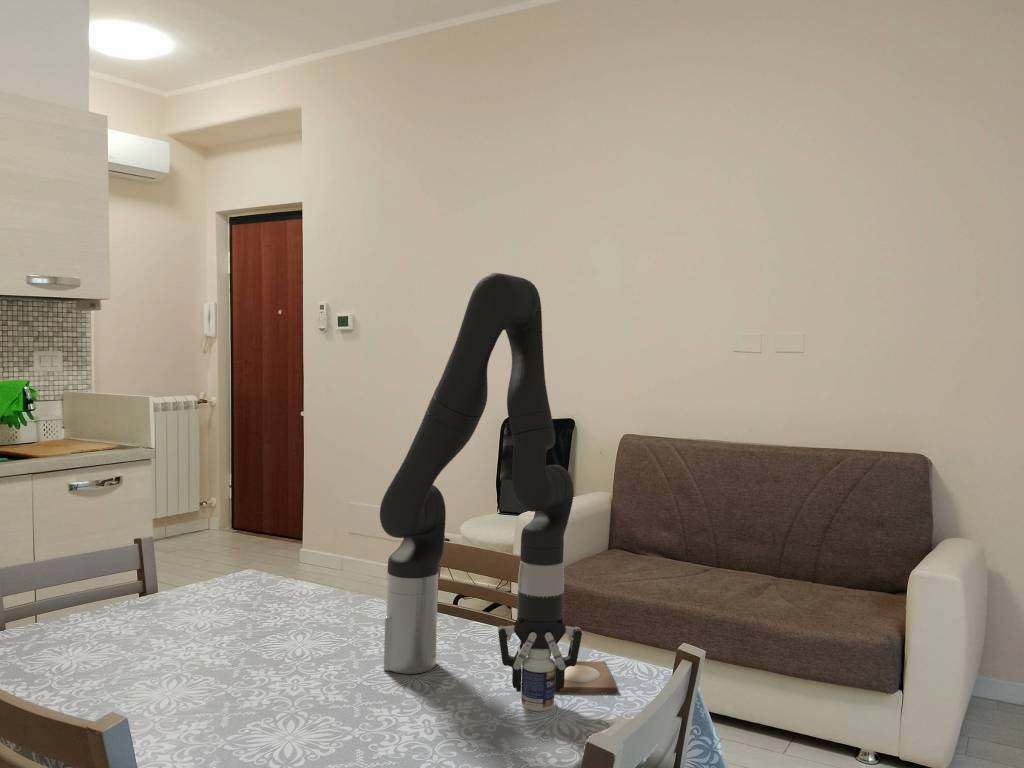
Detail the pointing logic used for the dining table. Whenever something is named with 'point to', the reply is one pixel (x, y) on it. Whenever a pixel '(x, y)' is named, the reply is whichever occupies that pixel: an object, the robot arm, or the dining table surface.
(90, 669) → the dining table surface
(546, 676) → the pill bottle
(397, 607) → the robot arm
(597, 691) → the rest board
